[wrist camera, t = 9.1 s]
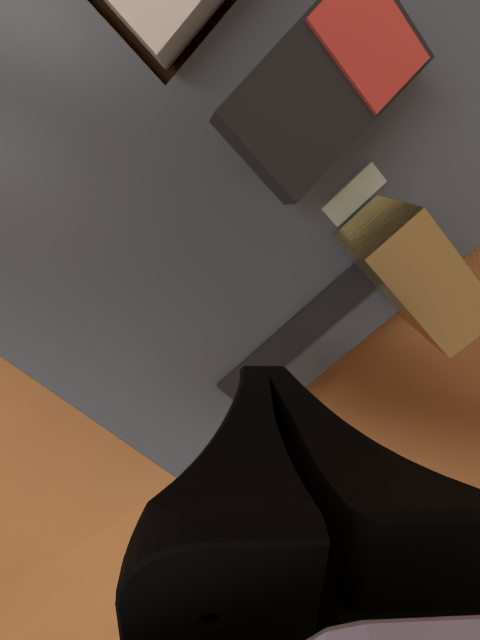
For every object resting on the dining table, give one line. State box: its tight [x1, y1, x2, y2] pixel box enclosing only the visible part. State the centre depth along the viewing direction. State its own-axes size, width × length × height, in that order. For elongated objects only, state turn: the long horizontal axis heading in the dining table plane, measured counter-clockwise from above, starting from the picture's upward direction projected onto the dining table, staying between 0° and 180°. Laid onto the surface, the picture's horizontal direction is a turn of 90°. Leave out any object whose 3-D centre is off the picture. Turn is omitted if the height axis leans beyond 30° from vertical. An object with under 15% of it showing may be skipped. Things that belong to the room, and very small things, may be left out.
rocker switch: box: [209, 0, 435, 205], centre depth 10 cm, size 3×5×1 cm, turn 134°
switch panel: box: [0, 0, 480, 478], centre depth 12 cm, size 16×22×2 cm
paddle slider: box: [332, 195, 480, 359], centre depth 12 cm, size 4×2×3 cm, turn 44°
